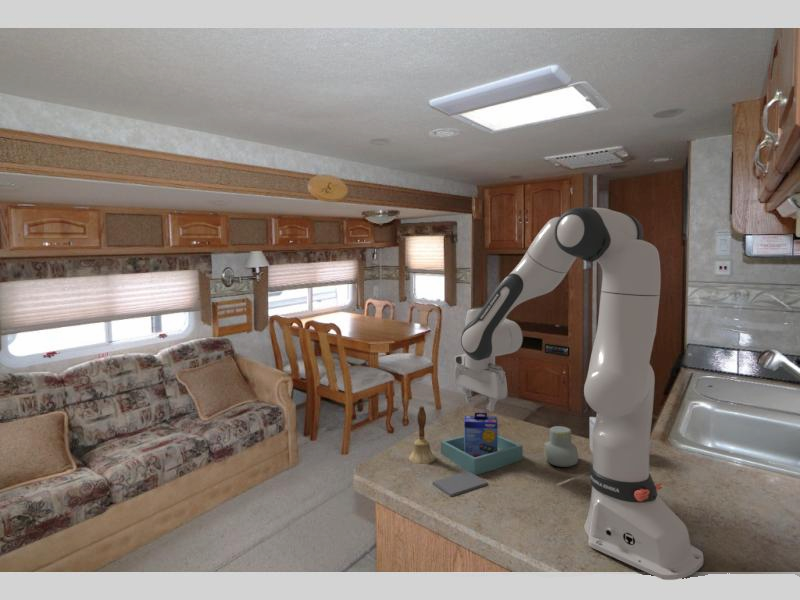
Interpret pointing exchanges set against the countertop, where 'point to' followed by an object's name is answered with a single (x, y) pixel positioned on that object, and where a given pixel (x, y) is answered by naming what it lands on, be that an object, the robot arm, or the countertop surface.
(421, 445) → the hand bell
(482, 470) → the bin
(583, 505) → the countertop surface
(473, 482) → the mat
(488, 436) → the ink cartridge box
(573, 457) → the air freshener
